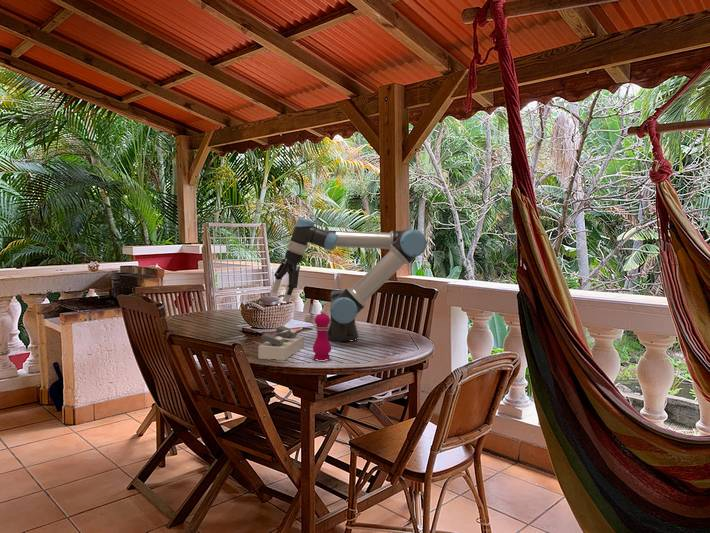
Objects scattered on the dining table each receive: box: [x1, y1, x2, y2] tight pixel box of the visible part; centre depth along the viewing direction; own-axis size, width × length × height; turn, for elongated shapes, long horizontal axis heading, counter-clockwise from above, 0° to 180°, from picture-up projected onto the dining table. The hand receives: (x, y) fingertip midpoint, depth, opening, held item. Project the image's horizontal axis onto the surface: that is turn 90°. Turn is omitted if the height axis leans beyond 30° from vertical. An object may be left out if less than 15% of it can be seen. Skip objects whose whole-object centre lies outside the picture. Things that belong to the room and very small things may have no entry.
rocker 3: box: [275, 325, 298, 338], centre depth 234 cm, size 8×5×2 cm, turn 77°
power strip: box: [257, 335, 305, 361], centre depth 229 cm, size 11×30×6 cm, turn 167°
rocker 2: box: [272, 330, 291, 338], centre depth 226 cm, size 8×5×2 cm, turn 77°
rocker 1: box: [260, 332, 285, 346], centre depth 218 cm, size 8×5×2 cm, turn 77°
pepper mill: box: [312, 309, 332, 360], centre depth 216 cm, size 7×7×20 cm
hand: (279, 297), depth 241 cm, fingers open, 13 cm apart
